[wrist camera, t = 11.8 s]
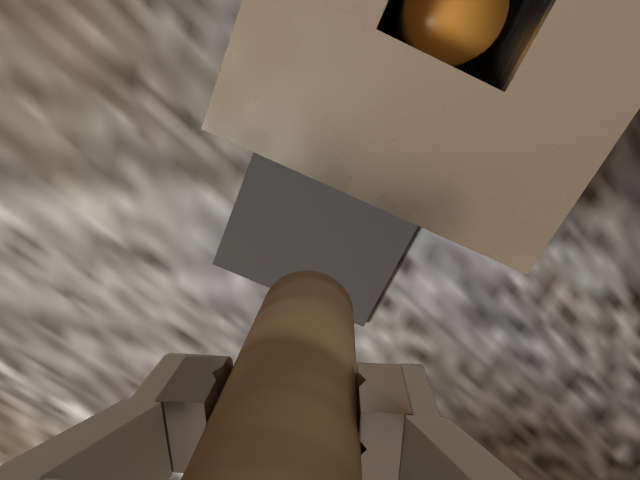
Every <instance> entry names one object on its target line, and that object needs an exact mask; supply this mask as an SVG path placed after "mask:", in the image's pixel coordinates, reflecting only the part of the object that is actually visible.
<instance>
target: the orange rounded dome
mask: <svg viewBox="0 0 640 480" xmlns="http://www.w3.org/2000/svg"><path fill="white" fill-rule="evenodd" d="M509 1H510V0H402V1H401V4H400V7H399V10H398V14H397V20H396V31H397V38H398V40H399V41H401V42H403V43H405V44H407V45H410V46H412V47H414V48H416V49H418V50H420V51H422V52H424V53H426V54H428V55H430V56H432V57H434V58H436V59H438V60H440V61H442V62H444V63H446V64H448V65H450V66H452V67H454V68H456V67H458V66H460V65H462V64H463V63H465V62H467V61H469V60H471V59H473V58H475V57H477V56H478V55H480V54H481V53H483V52H484V51H485V50H486V49H487V48H488V47H489V46H490V45H491V44H492V43H493V42H494V41H495V39H496V38H497V37H498V35H499V33H500V32H501V30H502V28H503V26H504V23H505V20H506V17H507V14H508V9H509Z"/></svg>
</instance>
